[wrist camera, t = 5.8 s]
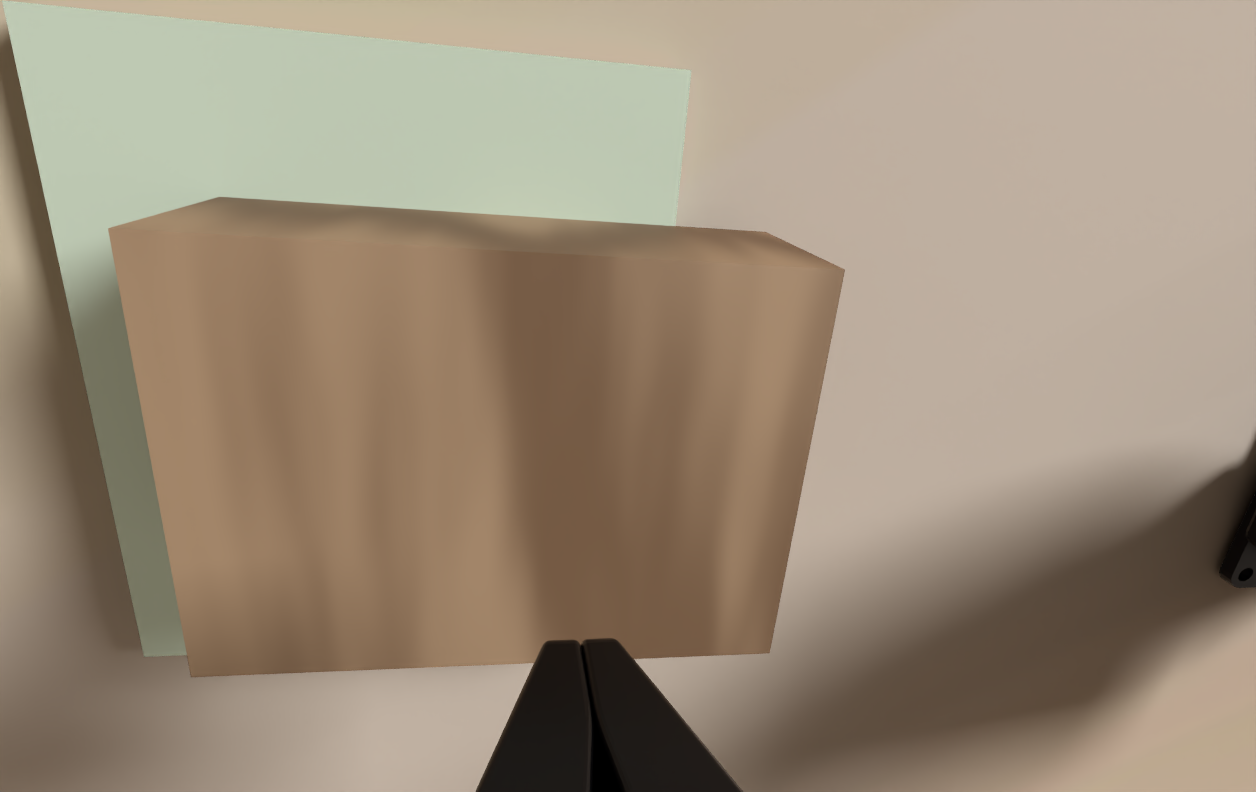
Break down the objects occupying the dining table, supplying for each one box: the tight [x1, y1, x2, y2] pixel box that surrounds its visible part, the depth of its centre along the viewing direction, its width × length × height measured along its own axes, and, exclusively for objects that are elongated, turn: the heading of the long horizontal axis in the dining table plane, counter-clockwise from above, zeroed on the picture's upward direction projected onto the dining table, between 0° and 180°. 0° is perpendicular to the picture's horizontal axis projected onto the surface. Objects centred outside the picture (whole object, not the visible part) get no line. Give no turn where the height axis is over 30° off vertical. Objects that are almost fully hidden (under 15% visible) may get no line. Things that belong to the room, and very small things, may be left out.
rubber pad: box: [2, 0, 691, 657], centre depth 16 cm, size 12×14×1 cm
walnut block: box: [108, 197, 845, 677], centre depth 14 cm, size 4×8×11 cm
